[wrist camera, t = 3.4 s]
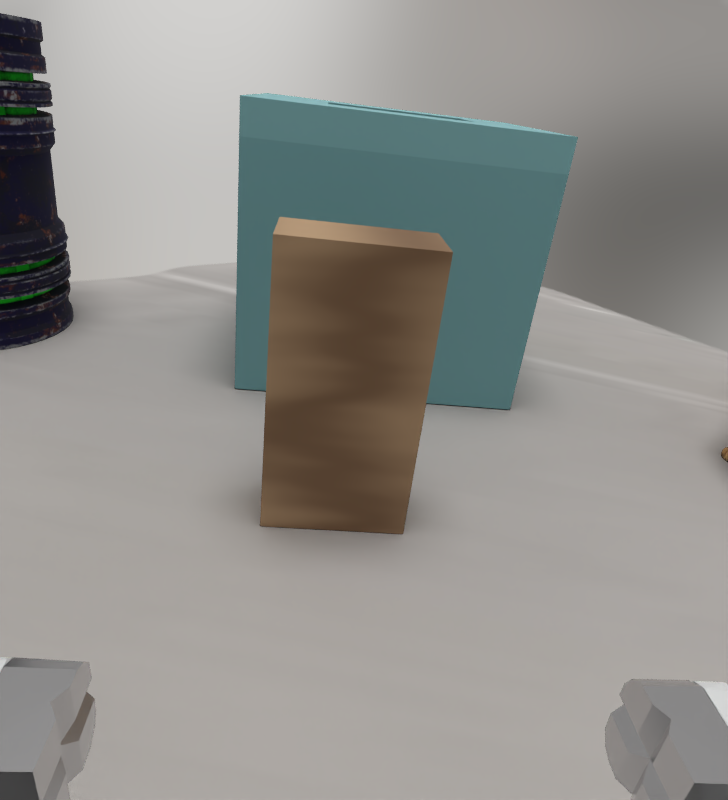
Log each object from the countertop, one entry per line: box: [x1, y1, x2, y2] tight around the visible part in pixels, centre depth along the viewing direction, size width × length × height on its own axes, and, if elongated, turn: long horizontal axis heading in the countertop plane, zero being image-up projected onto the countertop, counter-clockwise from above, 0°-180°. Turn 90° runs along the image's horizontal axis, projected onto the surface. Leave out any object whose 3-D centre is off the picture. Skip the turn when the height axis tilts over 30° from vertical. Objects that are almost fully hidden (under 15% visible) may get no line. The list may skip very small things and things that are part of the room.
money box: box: [235, 93, 578, 410], centre depth 33 cm, size 14×12×13 cm
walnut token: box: [260, 217, 453, 534], centre depth 20 cm, size 5×2×10 cm, turn 93°
